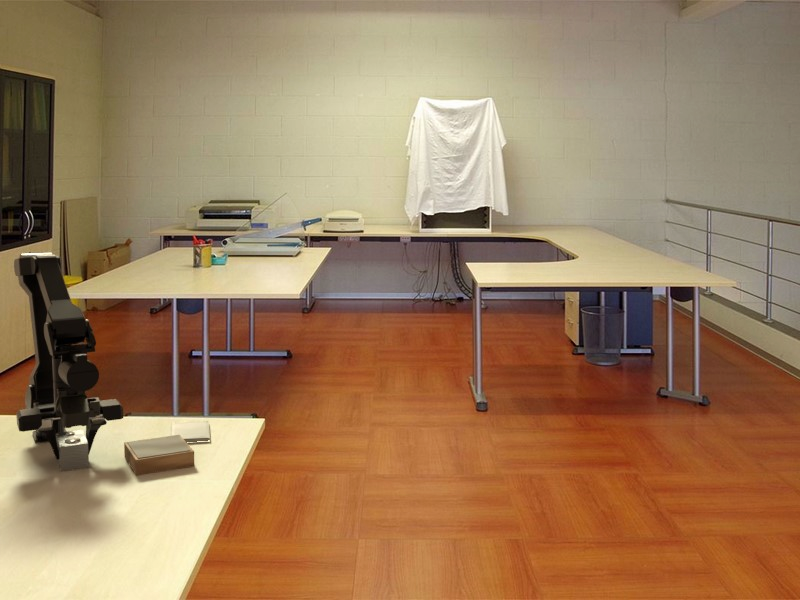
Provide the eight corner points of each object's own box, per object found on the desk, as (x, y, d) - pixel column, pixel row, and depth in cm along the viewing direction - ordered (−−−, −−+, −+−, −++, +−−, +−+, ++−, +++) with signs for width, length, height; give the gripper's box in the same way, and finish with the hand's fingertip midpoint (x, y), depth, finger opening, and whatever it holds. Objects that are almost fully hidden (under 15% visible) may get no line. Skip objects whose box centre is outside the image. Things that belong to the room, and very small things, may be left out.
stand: (124, 456, 160) (124, 441, 160) (179, 448, 166) (179, 434, 165) (136, 475, 151) (135, 459, 150) (194, 465, 156) (194, 450, 156)
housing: (57, 457, 160) (55, 431, 159) (83, 453, 162) (82, 428, 161) (61, 472, 152) (59, 446, 151) (89, 468, 154) (87, 442, 153)
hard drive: (210, 437, 170) (208, 419, 182) (170, 439, 168) (171, 421, 180) (210, 445, 170) (208, 426, 182) (170, 447, 168) (171, 428, 180)
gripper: (19, 395, 143) (24, 478, 145) (128, 384, 152) (130, 462, 154) (14, 380, 152) (18, 459, 155) (116, 370, 162) (119, 445, 164)
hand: (72, 456), depth 157 cm, fingers closed on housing, 5 cm apart
